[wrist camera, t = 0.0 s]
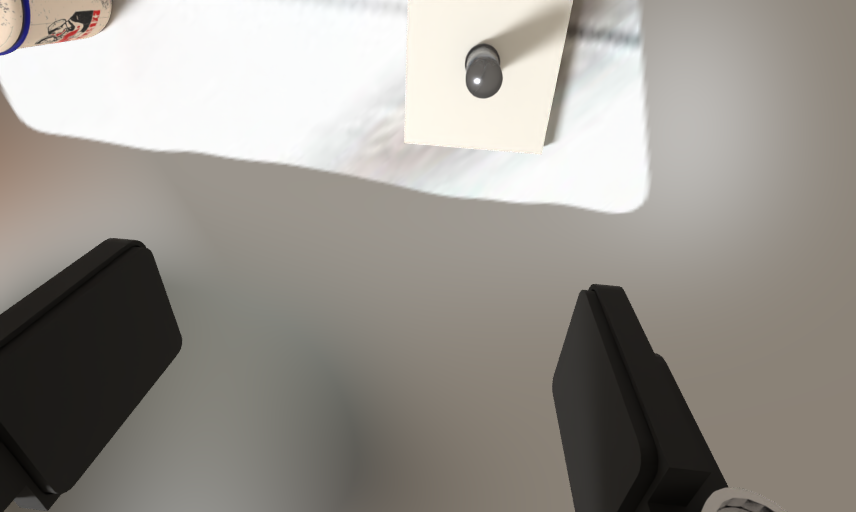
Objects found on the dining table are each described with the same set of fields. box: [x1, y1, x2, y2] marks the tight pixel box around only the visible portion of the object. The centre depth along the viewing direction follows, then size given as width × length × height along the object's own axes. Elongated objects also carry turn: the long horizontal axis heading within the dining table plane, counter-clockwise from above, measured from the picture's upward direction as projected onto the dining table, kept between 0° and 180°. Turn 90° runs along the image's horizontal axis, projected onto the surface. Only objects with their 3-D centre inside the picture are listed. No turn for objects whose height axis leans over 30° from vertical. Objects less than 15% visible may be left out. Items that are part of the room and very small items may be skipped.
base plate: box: [404, 0, 573, 155], centre depth 34 cm, size 14×12×2 cm
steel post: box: [465, 43, 503, 99], centre depth 31 cm, size 3×3×7 cm
